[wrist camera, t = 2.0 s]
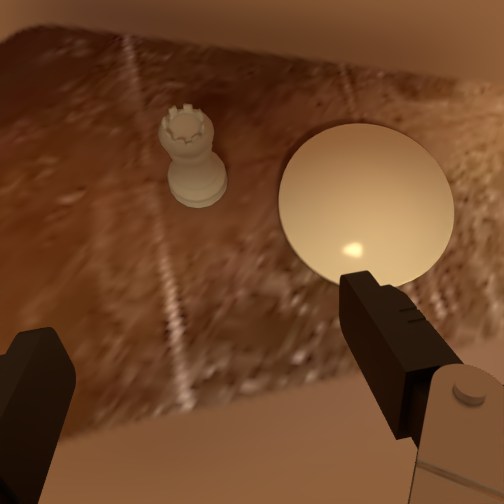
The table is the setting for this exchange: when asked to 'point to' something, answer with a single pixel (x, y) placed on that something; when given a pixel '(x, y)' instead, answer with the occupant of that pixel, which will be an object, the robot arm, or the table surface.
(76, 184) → the table surface
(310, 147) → the cream plate
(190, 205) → the rook chess piece
